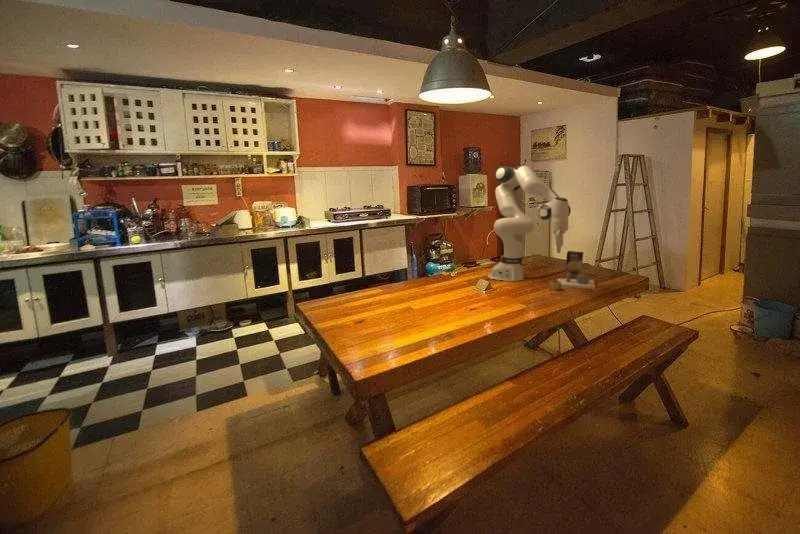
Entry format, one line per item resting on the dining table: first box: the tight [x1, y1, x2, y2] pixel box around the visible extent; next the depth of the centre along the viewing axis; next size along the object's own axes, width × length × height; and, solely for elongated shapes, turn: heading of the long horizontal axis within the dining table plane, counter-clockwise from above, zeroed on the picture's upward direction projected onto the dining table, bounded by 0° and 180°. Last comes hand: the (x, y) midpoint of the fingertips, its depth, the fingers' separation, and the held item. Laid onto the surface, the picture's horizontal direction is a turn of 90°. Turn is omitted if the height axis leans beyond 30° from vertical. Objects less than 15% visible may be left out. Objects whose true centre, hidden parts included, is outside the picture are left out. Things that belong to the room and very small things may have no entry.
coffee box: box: [564, 250, 584, 279], centre depth 249 cm, size 9×6×16 cm
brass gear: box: [548, 280, 562, 292], centre depth 227 cm, size 6×6×4 cm
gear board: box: [557, 272, 596, 290], centre depth 234 cm, size 20×13×7 cm, turn 67°
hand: (558, 251), depth 223 cm, fingers open, 8 cm apart
